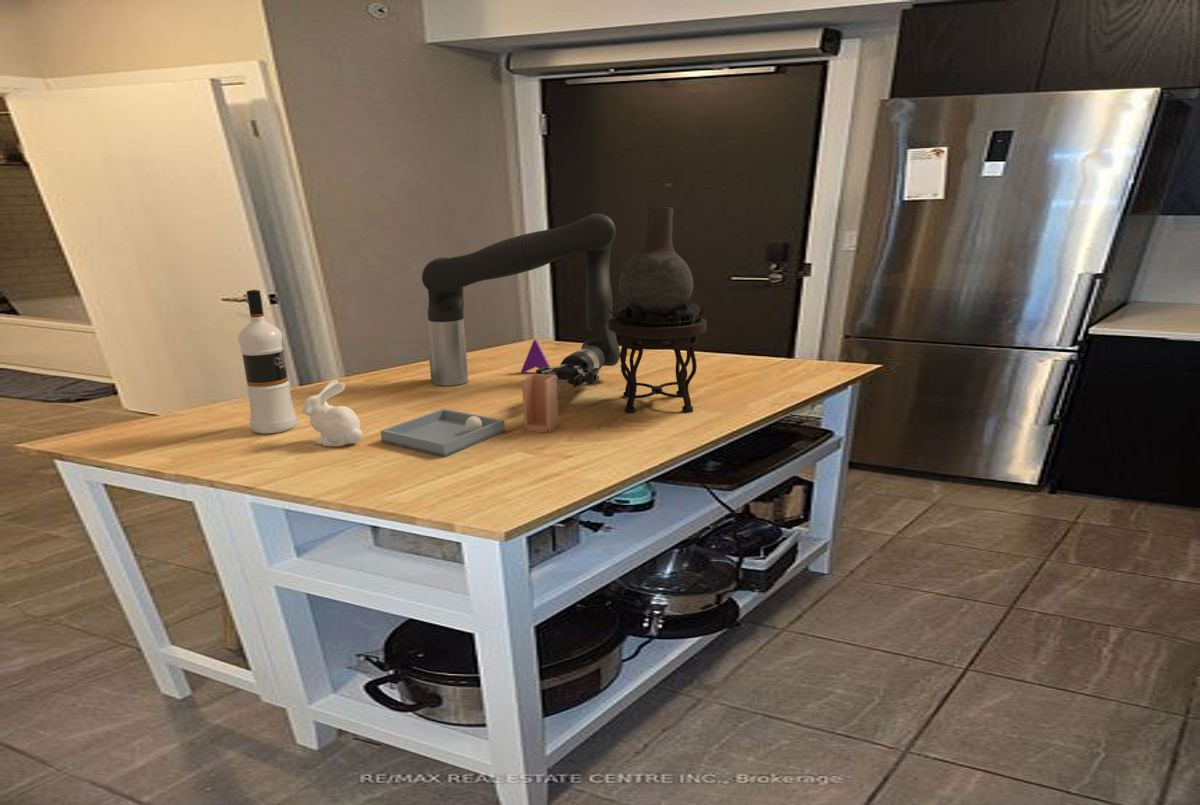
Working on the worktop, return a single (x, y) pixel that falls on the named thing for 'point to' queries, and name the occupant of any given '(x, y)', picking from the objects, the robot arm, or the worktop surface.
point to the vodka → (265, 372)
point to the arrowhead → (534, 358)
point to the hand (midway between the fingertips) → (556, 382)
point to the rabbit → (332, 418)
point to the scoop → (540, 402)
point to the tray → (441, 432)
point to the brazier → (657, 308)
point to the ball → (473, 423)
